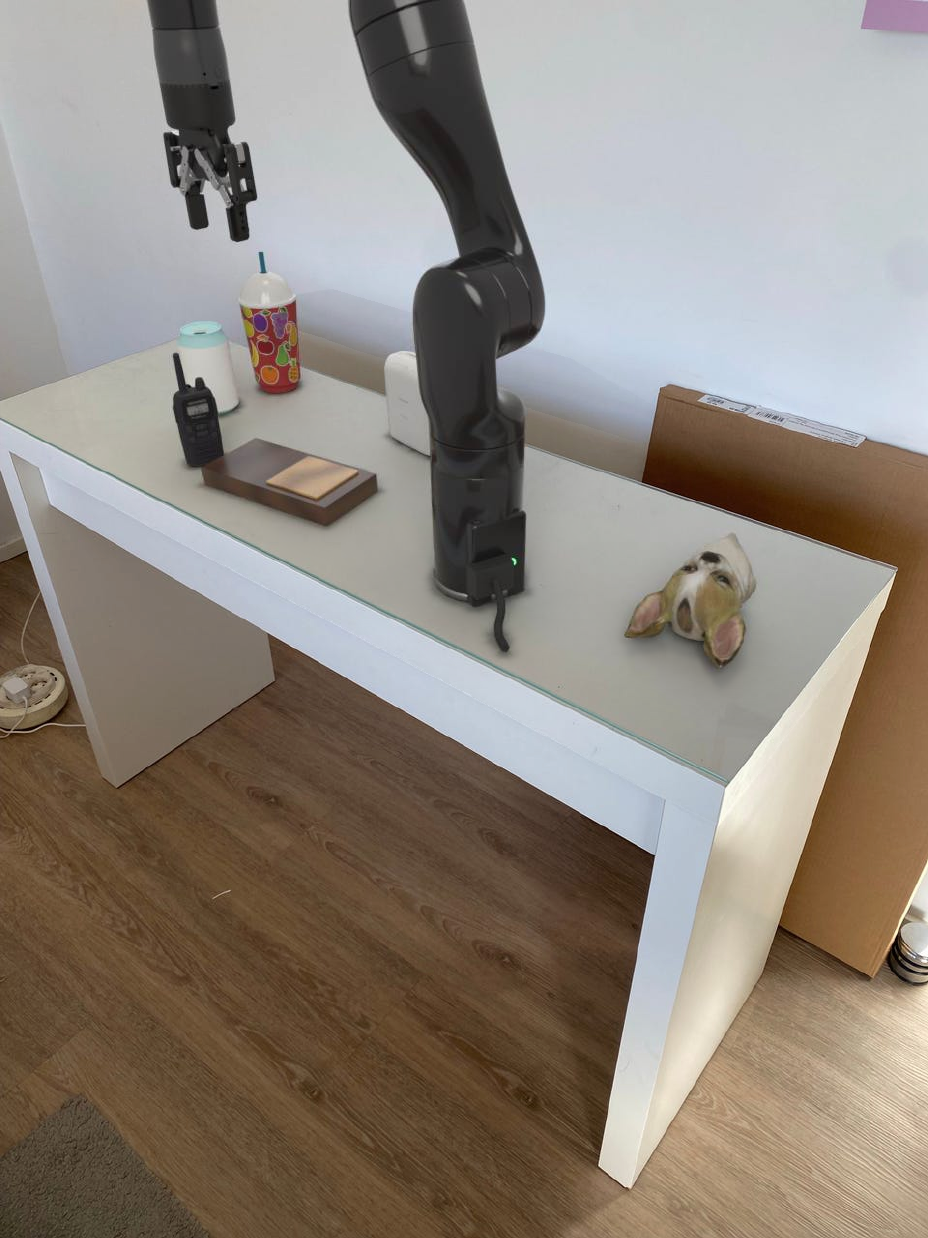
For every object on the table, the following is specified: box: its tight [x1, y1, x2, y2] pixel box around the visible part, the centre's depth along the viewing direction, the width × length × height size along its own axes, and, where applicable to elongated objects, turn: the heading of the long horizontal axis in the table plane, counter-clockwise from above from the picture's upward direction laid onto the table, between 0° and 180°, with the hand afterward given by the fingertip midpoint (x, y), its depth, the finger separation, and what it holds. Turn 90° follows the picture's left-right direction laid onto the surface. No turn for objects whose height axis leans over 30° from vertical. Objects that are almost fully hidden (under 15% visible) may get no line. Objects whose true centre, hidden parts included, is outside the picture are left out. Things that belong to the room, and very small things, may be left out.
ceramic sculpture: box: [624, 532, 757, 670], centre depth 87 cm, size 11×9×15 cm
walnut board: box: [200, 437, 379, 527], centre depth 114 cm, size 20×10×3 cm, turn 58°
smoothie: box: [237, 251, 301, 394], centre depth 135 cm, size 8×8×20 cm
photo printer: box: [383, 350, 430, 457], centre depth 121 cm, size 10×4×12 cm, turn 39°
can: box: [176, 320, 240, 416], centre depth 131 cm, size 7×7×12 cm
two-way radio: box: [172, 352, 225, 468], centre depth 117 cm, size 6×4×15 cm
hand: (220, 234), depth 108 cm, fingers open, 8 cm apart
